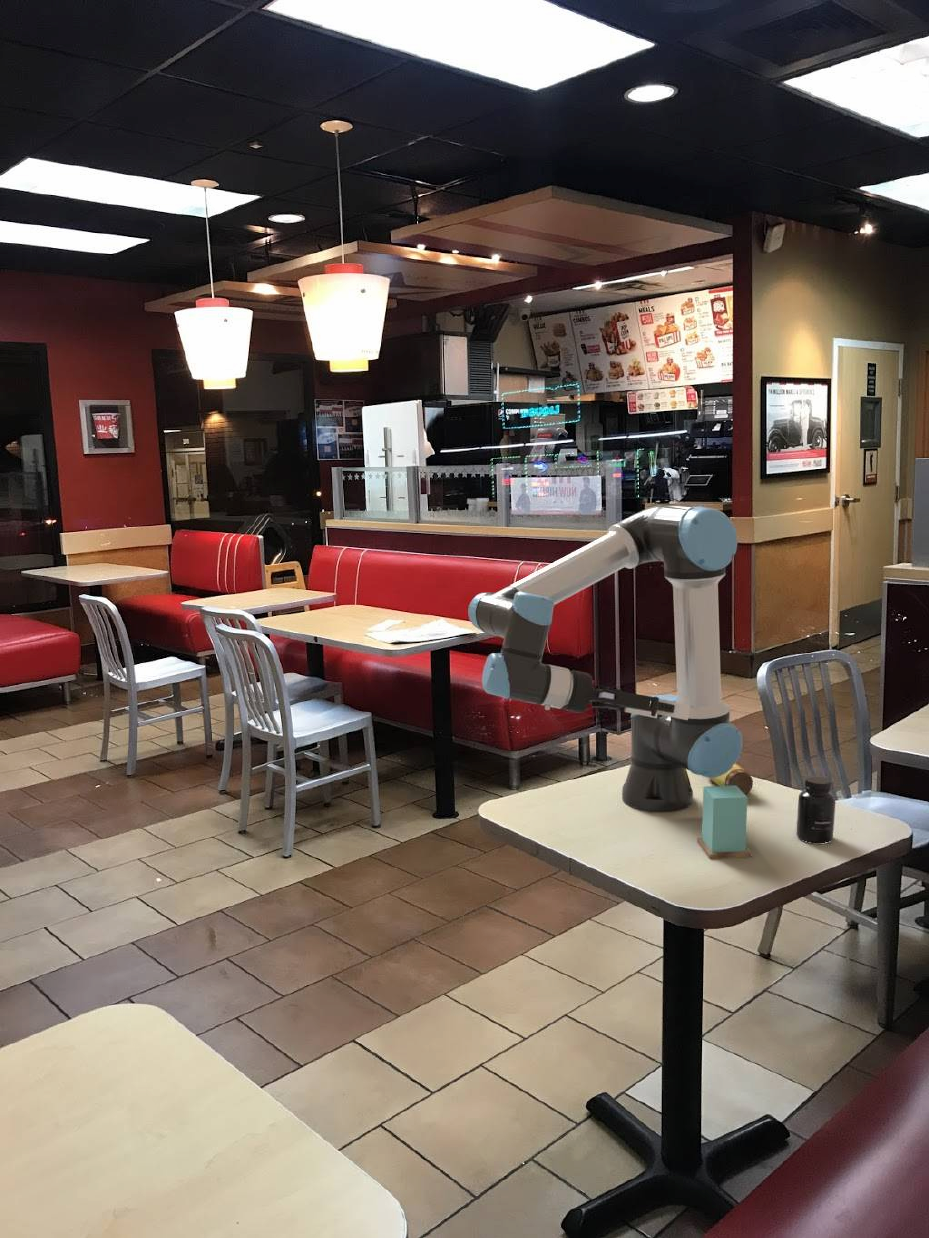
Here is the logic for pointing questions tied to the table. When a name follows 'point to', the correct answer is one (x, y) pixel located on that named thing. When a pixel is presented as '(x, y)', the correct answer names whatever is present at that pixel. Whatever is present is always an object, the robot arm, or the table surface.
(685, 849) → the table surface
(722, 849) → the tall teal pillar
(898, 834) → the table surface
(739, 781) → the sauce bottle
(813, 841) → the supplement bottle
